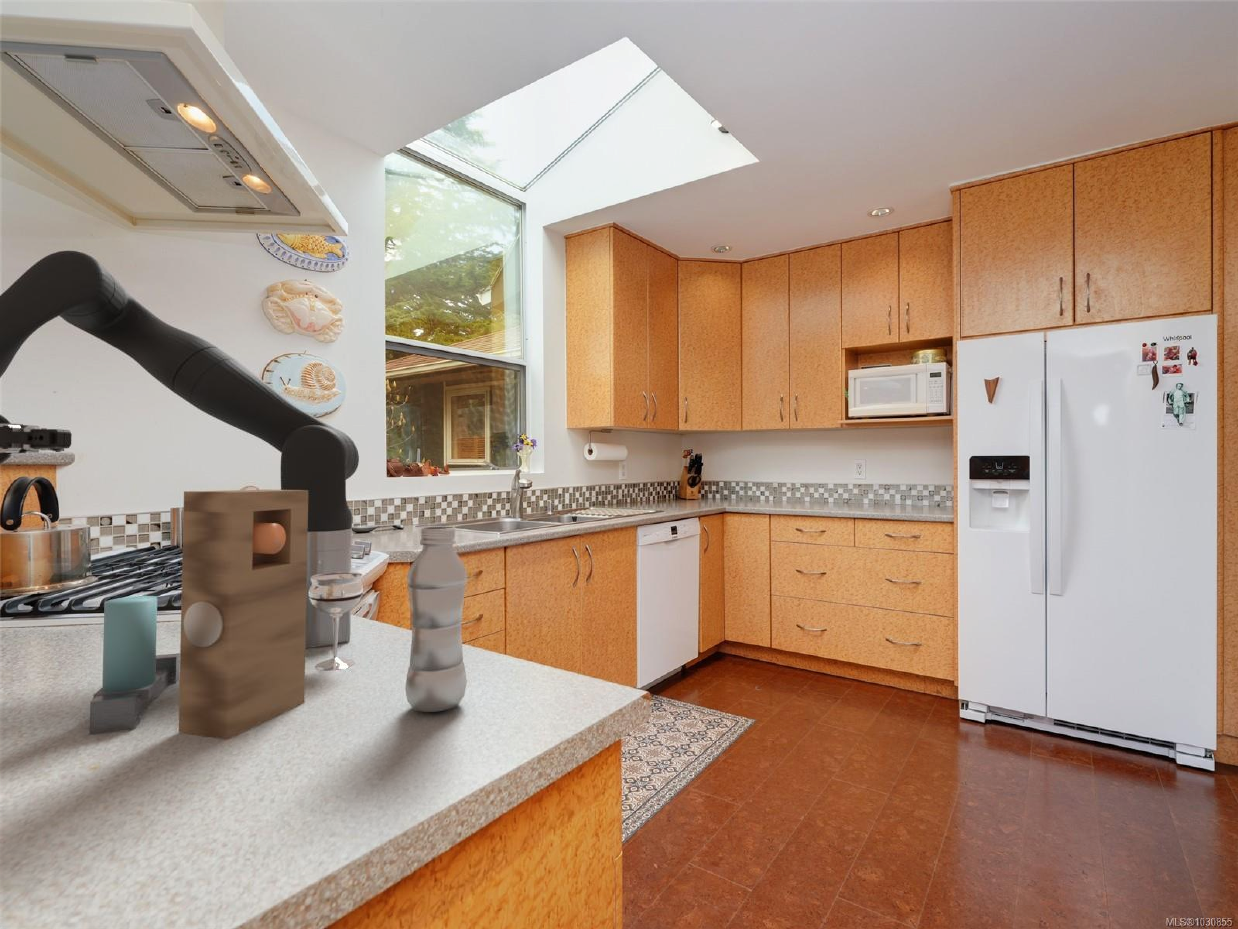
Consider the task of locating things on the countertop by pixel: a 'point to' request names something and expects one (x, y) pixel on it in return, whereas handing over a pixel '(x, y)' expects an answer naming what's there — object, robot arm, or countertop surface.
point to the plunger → (268, 538)
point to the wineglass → (335, 605)
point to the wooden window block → (241, 611)
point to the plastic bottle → (436, 623)
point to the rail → (130, 701)
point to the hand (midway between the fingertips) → (64, 438)
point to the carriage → (130, 647)
